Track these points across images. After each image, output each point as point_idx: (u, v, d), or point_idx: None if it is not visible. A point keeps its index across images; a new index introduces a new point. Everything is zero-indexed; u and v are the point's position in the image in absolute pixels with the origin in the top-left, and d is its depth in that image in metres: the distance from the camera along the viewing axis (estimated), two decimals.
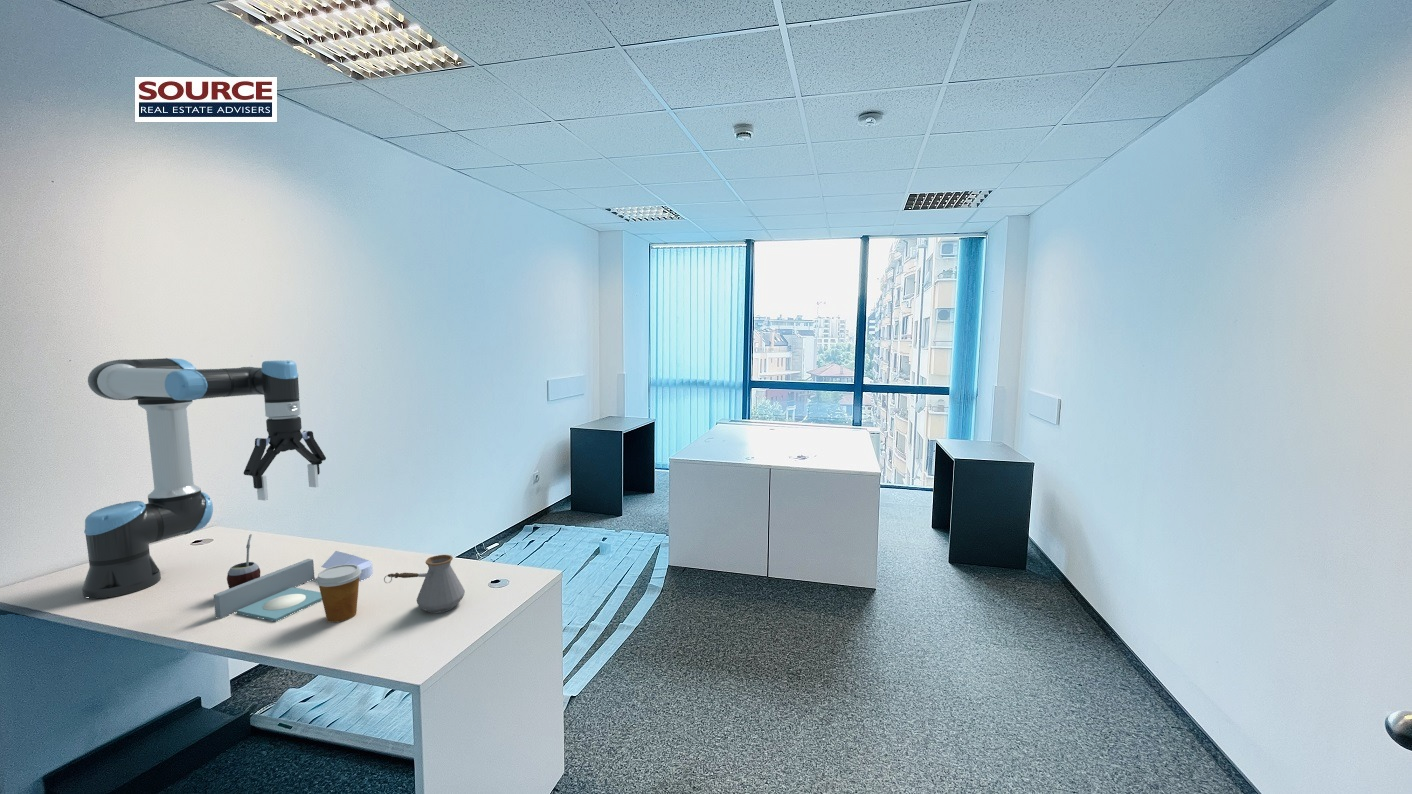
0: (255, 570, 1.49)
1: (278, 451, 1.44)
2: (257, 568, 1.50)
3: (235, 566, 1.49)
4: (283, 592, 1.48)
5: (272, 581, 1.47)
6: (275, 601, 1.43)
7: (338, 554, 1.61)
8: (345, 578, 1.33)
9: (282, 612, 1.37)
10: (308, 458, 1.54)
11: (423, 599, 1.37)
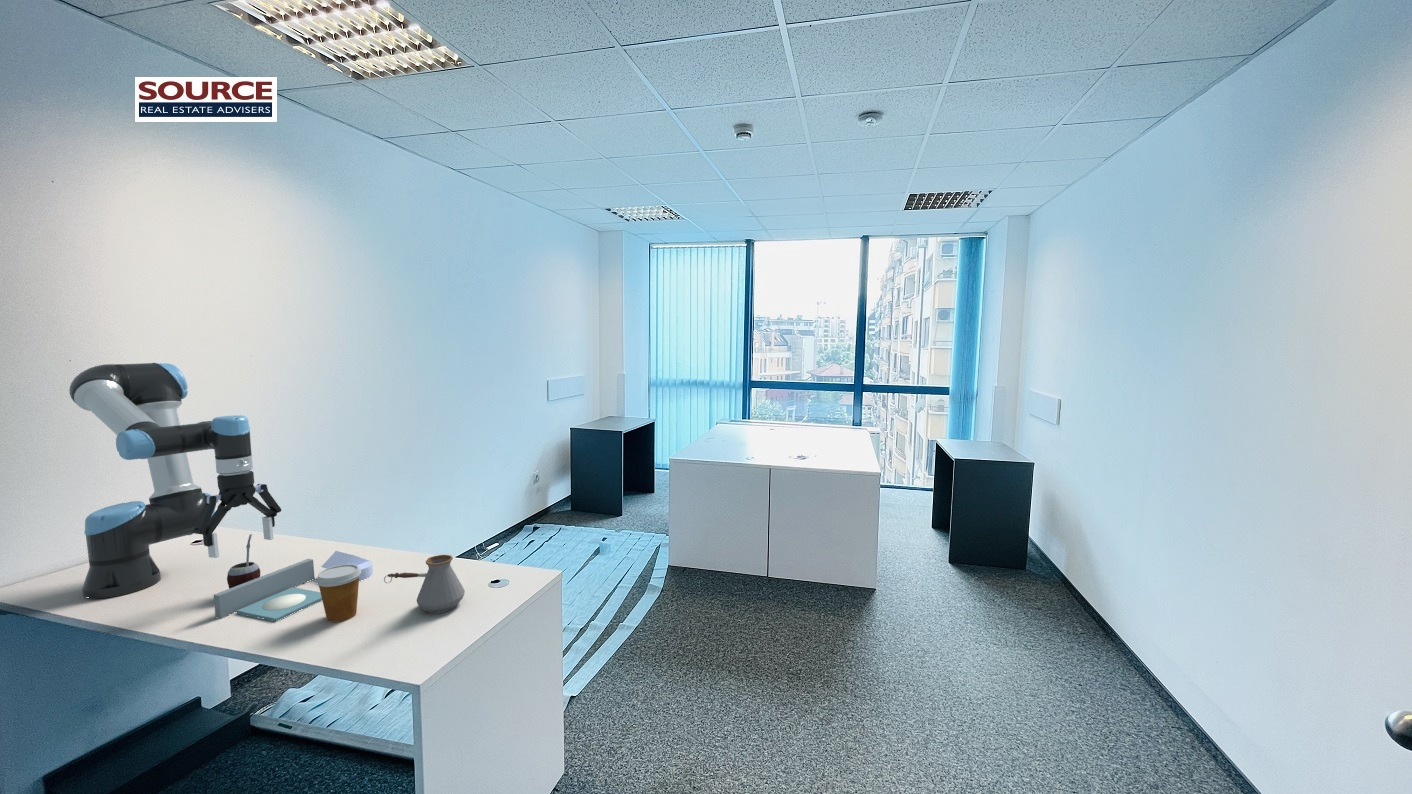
0: (255, 570, 1.49)
1: (229, 507, 1.44)
2: (257, 568, 1.50)
3: (235, 566, 1.49)
4: (283, 592, 1.48)
5: (272, 581, 1.47)
6: (275, 601, 1.43)
7: (338, 554, 1.61)
8: (345, 578, 1.33)
9: (282, 612, 1.37)
10: (262, 511, 1.53)
11: (423, 599, 1.37)
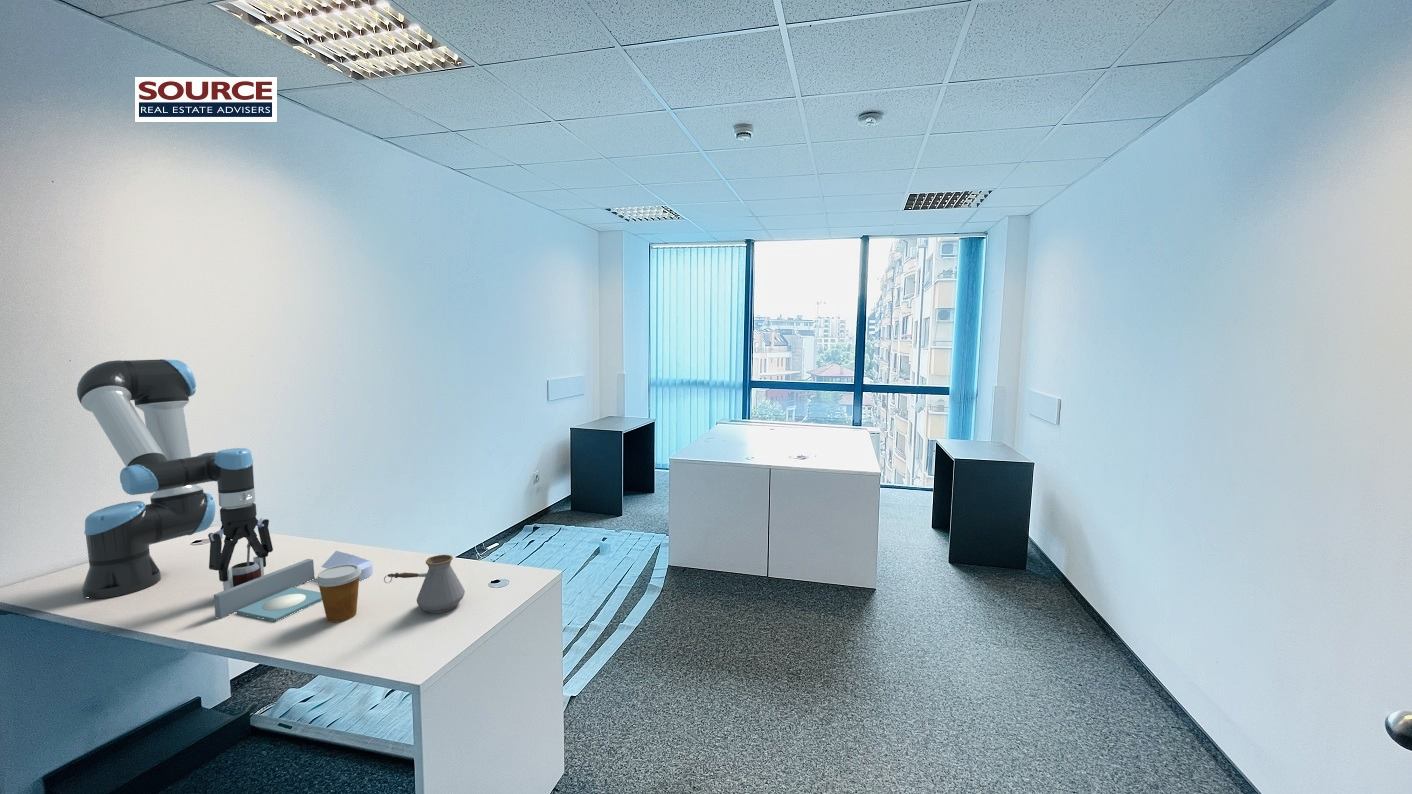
0: (255, 570, 1.49)
1: (235, 541, 1.46)
2: (258, 568, 1.50)
3: (236, 566, 1.49)
4: (283, 592, 1.48)
5: (272, 581, 1.47)
6: (275, 601, 1.43)
7: (338, 554, 1.61)
8: (345, 578, 1.33)
9: (282, 612, 1.37)
10: (255, 549, 1.52)
11: (423, 599, 1.37)
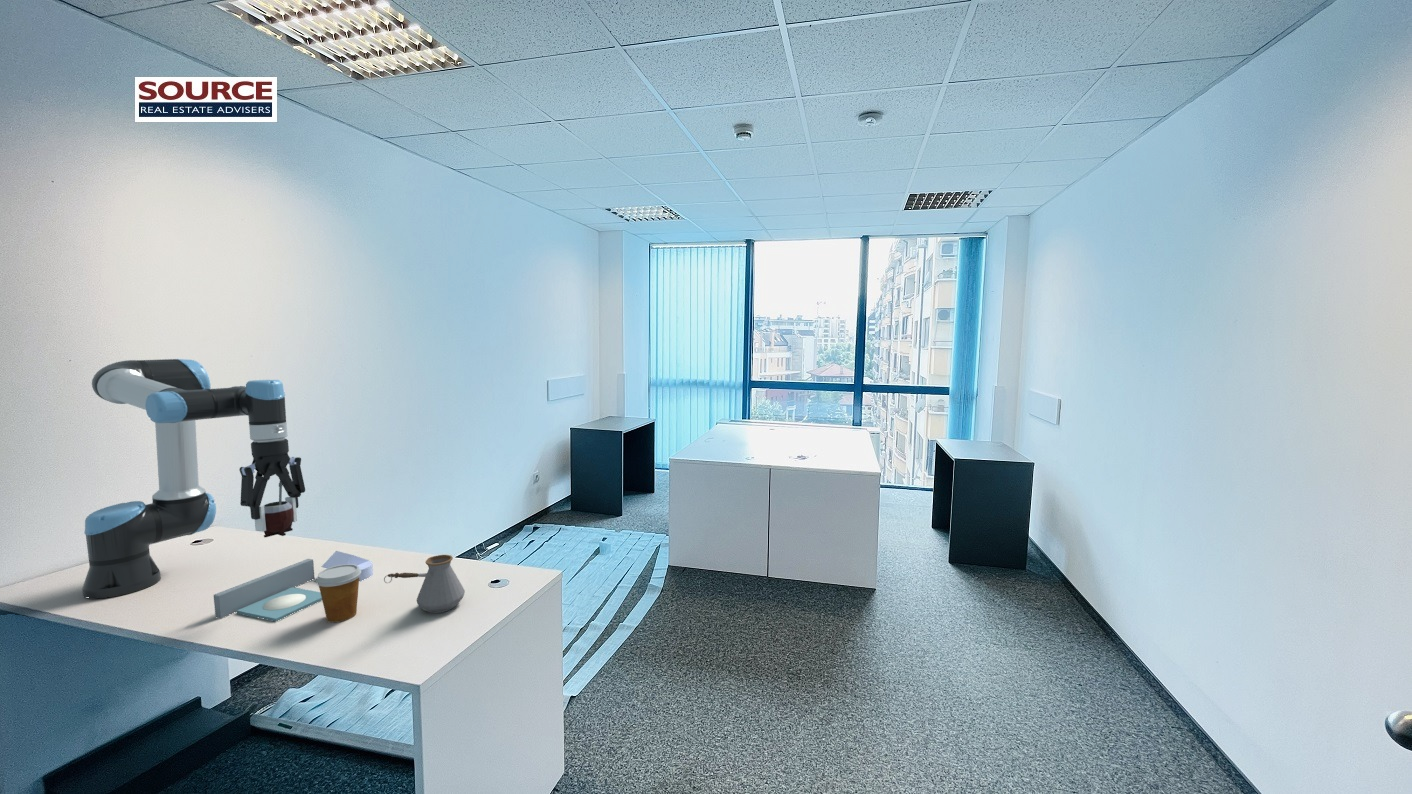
0: (288, 509, 1.41)
1: (268, 477, 1.37)
2: (291, 507, 1.42)
3: (267, 505, 1.41)
4: (283, 592, 1.48)
5: (272, 581, 1.47)
6: (275, 601, 1.43)
7: (338, 554, 1.61)
8: (345, 578, 1.33)
9: (282, 612, 1.37)
10: (288, 488, 1.44)
11: (423, 599, 1.37)
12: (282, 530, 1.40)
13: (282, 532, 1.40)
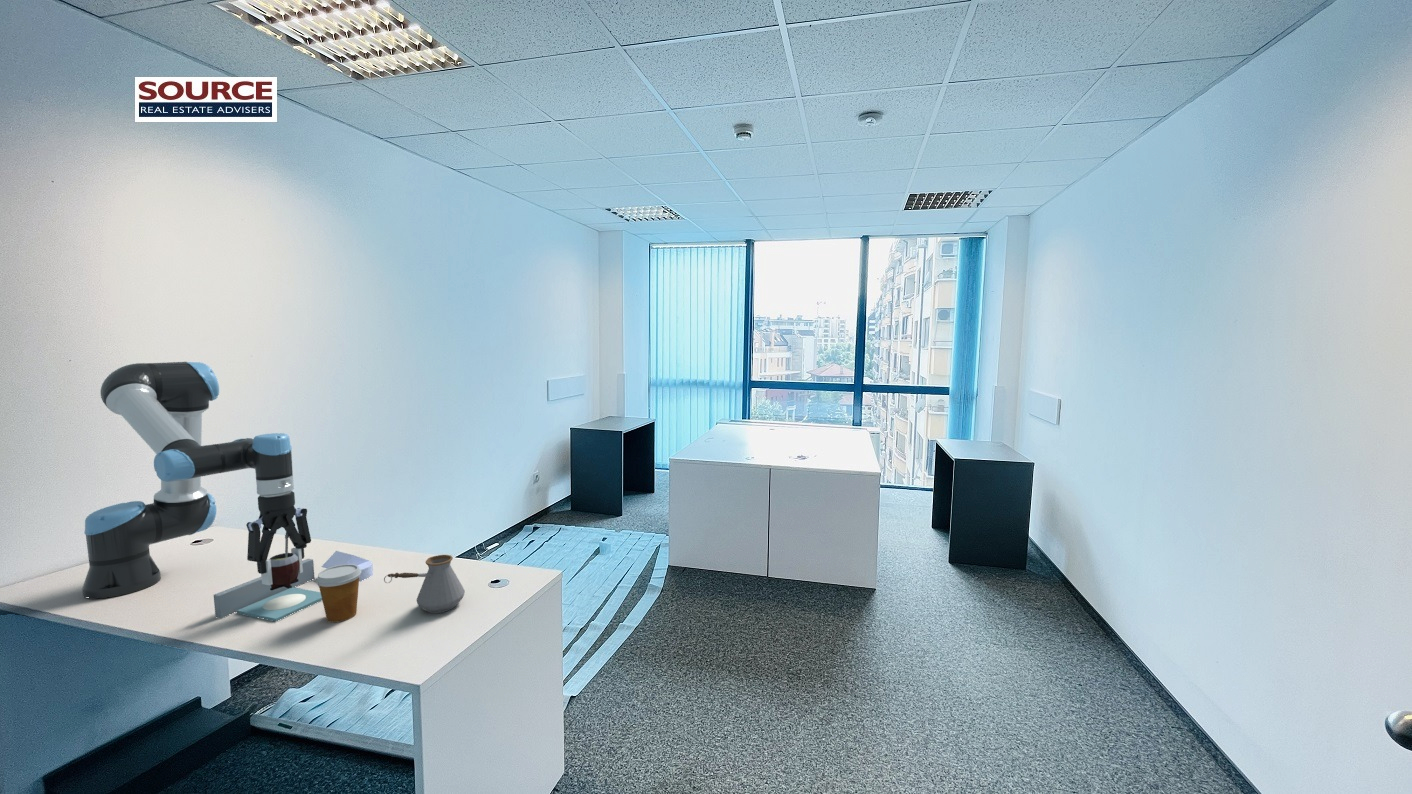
0: (295, 561, 1.42)
1: (274, 531, 1.38)
2: (297, 559, 1.43)
3: (274, 557, 1.42)
4: (283, 592, 1.48)
5: None
6: (275, 601, 1.43)
7: (338, 554, 1.61)
8: (345, 578, 1.33)
9: (282, 612, 1.37)
10: (294, 540, 1.45)
11: (423, 599, 1.37)
12: (288, 583, 1.41)
13: (288, 584, 1.41)
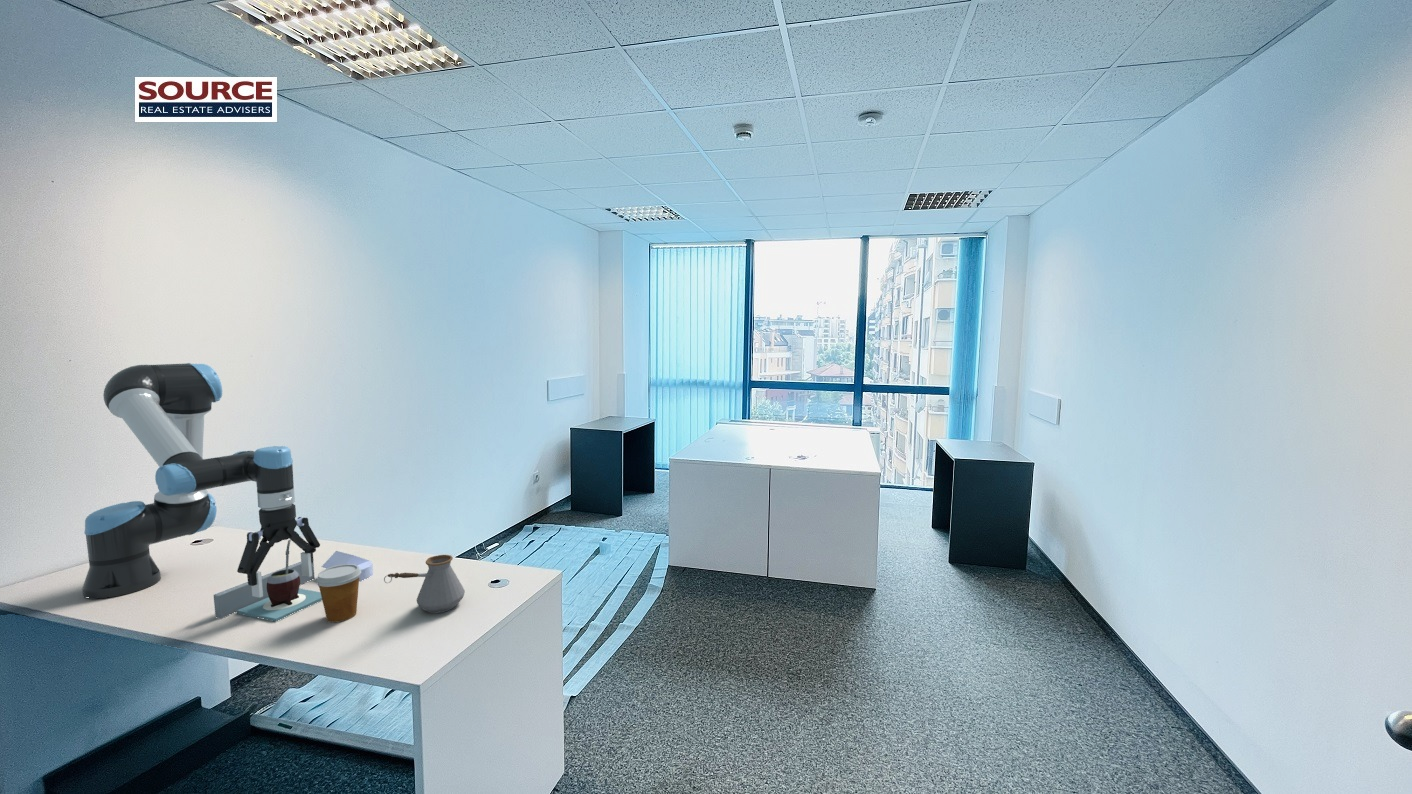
0: (295, 578, 1.42)
1: (272, 544, 1.38)
2: (297, 576, 1.43)
3: (274, 574, 1.42)
4: None
5: None
6: None
7: (338, 554, 1.61)
8: (345, 578, 1.33)
9: (282, 612, 1.37)
10: (301, 546, 1.47)
11: (423, 599, 1.37)
12: (289, 599, 1.41)
13: (289, 601, 1.41)
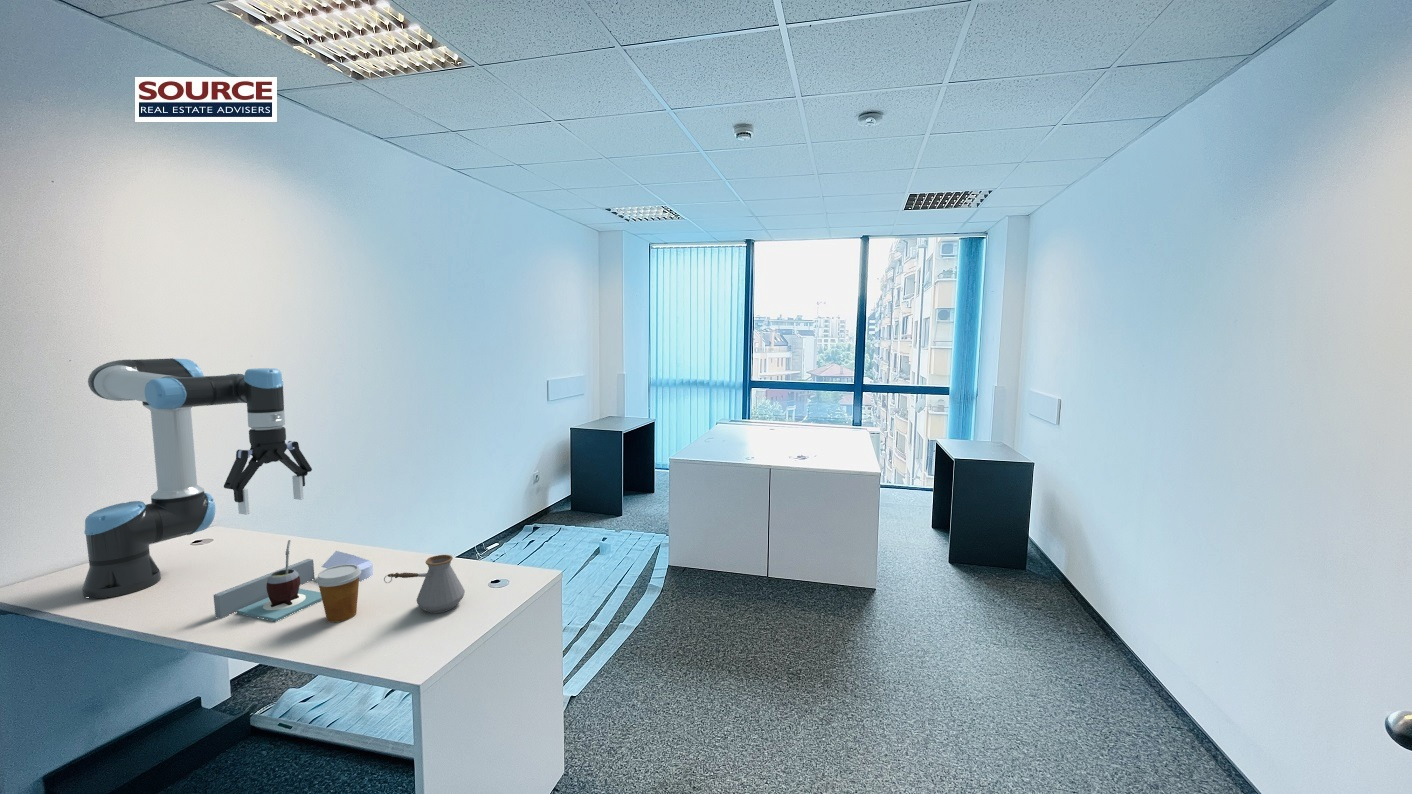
0: (295, 578, 1.42)
1: (261, 463, 1.39)
2: (297, 576, 1.43)
3: (274, 574, 1.42)
4: None
5: None
6: None
7: (338, 554, 1.61)
8: (345, 578, 1.33)
9: (282, 612, 1.37)
10: (293, 469, 1.48)
11: (423, 599, 1.37)
12: (289, 599, 1.41)
13: (289, 601, 1.41)
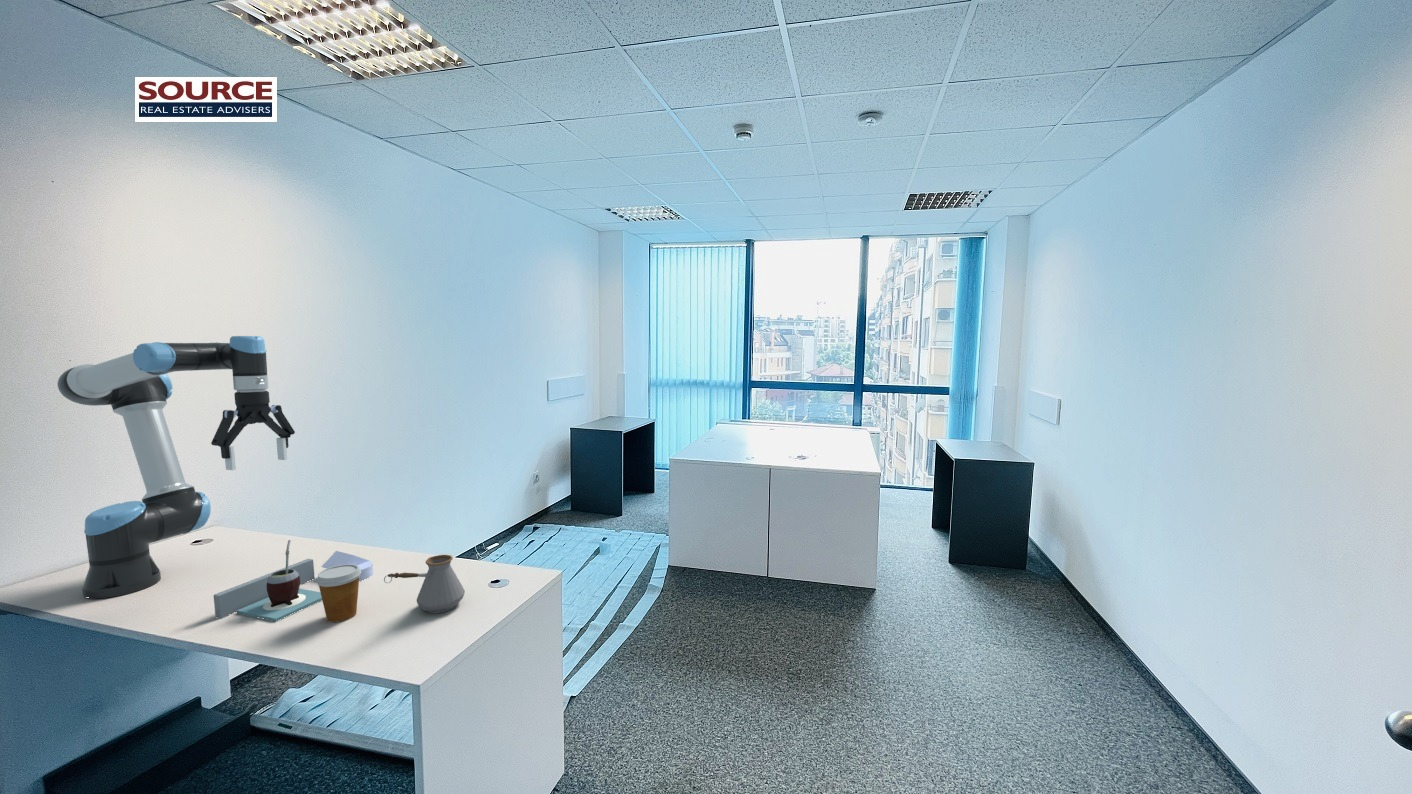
0: (295, 578, 1.42)
1: (246, 423, 1.49)
2: (297, 576, 1.43)
3: (274, 574, 1.42)
4: None
5: None
6: None
7: (338, 554, 1.61)
8: (345, 578, 1.33)
9: (282, 612, 1.37)
10: (277, 431, 1.59)
11: (423, 599, 1.37)
12: (289, 599, 1.41)
13: (289, 601, 1.41)
